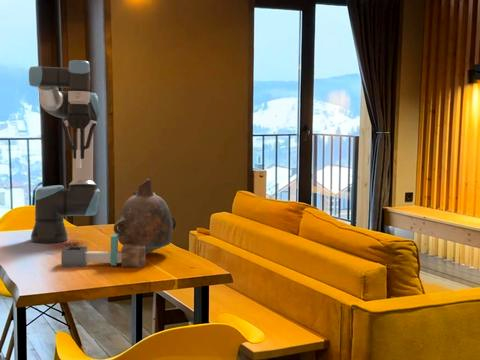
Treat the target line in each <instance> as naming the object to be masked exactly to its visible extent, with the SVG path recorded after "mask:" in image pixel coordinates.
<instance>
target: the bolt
mask: <svg viewBox="0 0 480 360" xmlns="http://www.w3.org/2000/svg"><path fill="white" fill-rule="evenodd" d="M118 243H119V240H118V234H116V233H112V234H111V235H110V251H107V250H106V251H105V250H104V251H103V250H100V251H99V250H96V251H95V250H93V251H92V250H87V252H86V253H85V263H87V264H89V263H90V264H91V263H98V264H100V263H101V264H104V263H105V264H107V263H108V264H110V266H117V265H118V263H119V264H120V263H121V264H122V250H121V251H119V247H118V246H119V244H118Z"/></svg>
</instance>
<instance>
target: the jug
mask: <svg viewBox="0 0 480 360" xmlns="http://www.w3.org/2000/svg"><path fill="white" fill-rule="evenodd" d="M154 193H155V192H153V186H152V180H151V179H149V178H147V179H145V181H144V182H143V183H140V184H139V185H138V190H136V191H134V192H133V195H132V196H130V197H129V198H127V200H126V201H125V203H124V204H123V205H122V207H121V210H120V212H119V215H118V220H117V221H116V222H115V223H114V226H113V233H114V234H118V243H120V244H121V245H122V246H123V244H146V253H145V255H148V254H150V253H152V252H155V251H157V250H159V249H161V248H164V247H166V246H169V245H170V244H171V243H172V239H173V233H174V231H173V230H174V229H175V228H176V220H175V218H174V217H173V216H172V215H171V210H170V208H169V206H168V204H167V202H166V201H165V200H164V199H163V198H162V197H161V196H159V195H157V194H156V193H155V194H154Z"/></svg>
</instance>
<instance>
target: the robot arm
mask: <svg viewBox="0 0 480 360" xmlns="http://www.w3.org/2000/svg"><path fill="white" fill-rule="evenodd" d="M90 67H91V66H90V62H89V61H87V60H83V59H81V60H79V59H74V60H73V59H72V60H69V61H68V67H57V66H55V67H54V66H41V65H38V66H30V68H29V70H28V84H29V86H30V87H33V88H37V90H38V92H39V97H38V99H39V100H38V102H39V104H40V106H41V108H42V109H43V110H44V111H45V112H47V113H48V114H49V115H51V116H54V117H56V118H60V119H66V120H64V121H61V122H60V125H61V127H62V128H63V130H64V131H63V132H64V136H65V140H66V145H67V147H68V149H70V150H72V181H71V182H70V183H69V184H68V188H65V187H64V185H61V184H57V185H47V186H43V187H39V188H37V189H36V191H35V194H34V196H35V197H34V202H35V207H34V209H35V211H34V216H35V217H34V220H35V222H34V225H33V229H32V231H31V234H30V241H31V242H33V243H38V244H56V243H64V242H67V241H68V239H69V237H68V236H69V235H68V234H69V233H68V232H67V231H68V230H67V229H66V226H65V222H64V217H74V216H75V217H76V216H77V217H81V216H82V217H87V216H88V217H89V216H95V215H96V214H97V211H98V206H99V198H100V189H99V188H97V184H96V183H95V181H94V132H95V131H94V130H95V128H96V127H97V126H98V120H100V119H101V112H100V111H101V109H100V103H99V97H98V95H97V93H95V92H90V86H91V85H90V83H91V68H90ZM59 88H63V89H66V88H67V89H68V91H65V90H64V91H63V90H62V91H59ZM69 125H70V126H71V128H72V132H73V133H72V138H71V134H70V130H69Z"/></svg>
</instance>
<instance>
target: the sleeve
mask: <svg viewBox="0 0 480 360" xmlns="http://www.w3.org/2000/svg"><path fill="white" fill-rule="evenodd" d="M87 251H88V246H64V247H63V248H62V249H61V254H60V255H61V268H85V267H86V266H87V265H88V263H85V253H86V252H87Z"/></svg>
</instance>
